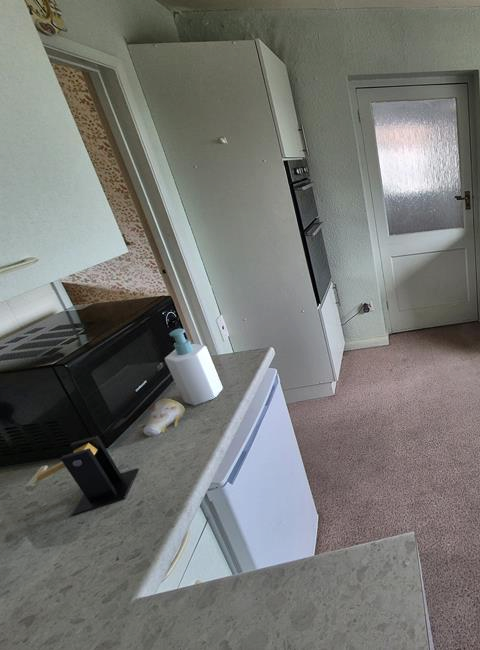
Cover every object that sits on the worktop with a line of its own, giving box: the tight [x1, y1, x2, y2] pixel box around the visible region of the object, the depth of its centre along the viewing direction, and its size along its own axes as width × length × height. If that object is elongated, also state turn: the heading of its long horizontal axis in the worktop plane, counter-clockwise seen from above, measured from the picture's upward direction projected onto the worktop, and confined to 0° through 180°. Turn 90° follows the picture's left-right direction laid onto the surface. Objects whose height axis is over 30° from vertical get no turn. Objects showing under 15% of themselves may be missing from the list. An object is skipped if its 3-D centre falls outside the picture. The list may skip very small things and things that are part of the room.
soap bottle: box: [164, 328, 224, 406], centre depth 111 cm, size 10×9×22 cm
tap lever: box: [24, 443, 97, 492], centre depth 78 cm, size 11×6×2 cm, turn 112°
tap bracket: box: [60, 435, 140, 517], centre depth 81 cm, size 9×9×14 cm
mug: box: [142, 398, 186, 437], centre depth 103 cm, size 8×10×10 cm
